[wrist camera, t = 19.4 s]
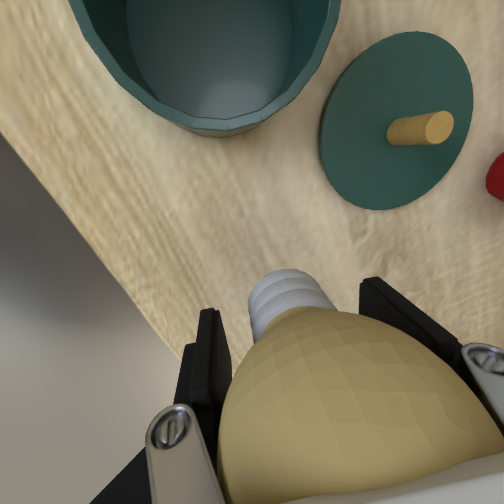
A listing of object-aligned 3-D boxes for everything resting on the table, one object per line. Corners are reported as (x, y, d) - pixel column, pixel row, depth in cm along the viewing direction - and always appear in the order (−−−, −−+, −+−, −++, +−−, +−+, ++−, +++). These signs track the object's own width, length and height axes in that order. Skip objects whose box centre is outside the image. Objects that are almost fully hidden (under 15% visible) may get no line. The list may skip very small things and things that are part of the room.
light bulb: (305, 355, 14) (453, 718, 5) (202, 326, 13) (147, 775, 4) (364, 264, 12) (772, 580, 3) (251, 217, 11) (414, 573, 2)
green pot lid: (405, 225, 29) (449, 243, 24) (292, 178, 25) (312, 186, 20) (493, 84, 24) (575, 65, 19) (369, -1, 20) (425, -58, 15)
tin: (260, 161, 24) (279, 166, 16) (105, 95, 21) (35, 62, 13) (327, -18, 20) (398, -128, 12) (141, -143, 16) (67, -422, 8)
